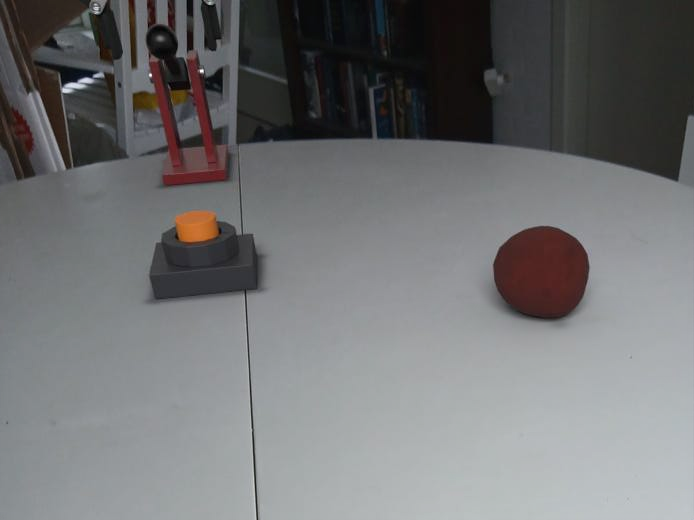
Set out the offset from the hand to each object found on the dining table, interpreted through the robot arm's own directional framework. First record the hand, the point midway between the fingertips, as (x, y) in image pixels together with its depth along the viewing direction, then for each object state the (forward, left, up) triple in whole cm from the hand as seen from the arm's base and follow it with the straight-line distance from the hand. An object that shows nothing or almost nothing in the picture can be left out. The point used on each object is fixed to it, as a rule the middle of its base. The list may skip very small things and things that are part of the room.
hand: (166, 52), depth 101 cm
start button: (+2, -26, -10) cm, 28 cm away
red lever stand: (0, +8, -14) cm, 16 cm away
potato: (+30, -41, -14) cm, 53 cm away
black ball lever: (0, +3, -3) cm, 4 cm away
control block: (+2, -26, -14) cm, 30 cm away
